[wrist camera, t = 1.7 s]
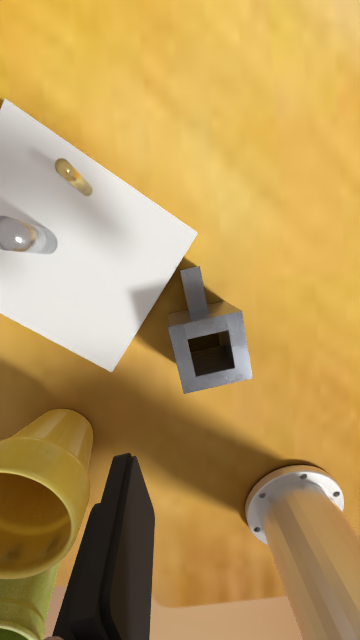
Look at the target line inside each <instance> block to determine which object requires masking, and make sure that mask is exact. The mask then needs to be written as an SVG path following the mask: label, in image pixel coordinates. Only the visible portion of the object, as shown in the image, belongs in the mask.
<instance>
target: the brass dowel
mask: <svg viewBox="0 0 360 640" xmlns="http://www.w3.org/2000/svg"><path fill="white" fill-rule="evenodd" d="M55 170H56V171H57V173H58V174H60V175H61V176H62V177H63V178H64V179H65V180H67V181H68V182H69V183H70V184H71V185H72V186H74V187H75V188H76V189H77V190H78V191H79V192H81V193H82V194H83V195H84V196H90V195H91V194H92V187H91V185H90V184H89V183H88V182H87V181H86V180H85V179H84V178H83V177H82V176H81V175H80V174H79V173H78V172H77V170H76V169H75V168H74V167H73V166H72V165H71V164H70V163H69V162H68V161H67V160H66V159H64V158H59V159H57V160H56V162H55Z"/></svg>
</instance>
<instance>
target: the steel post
mask: <svg viewBox="0 0 360 640" xmlns="http://www.w3.org/2000/svg"><path fill="white" fill-rule="evenodd" d="M57 245H58V241H57V238H56V236H55V234H54V233H53V232H52V231H50V230H48V229H45V228H42V227H39V226H36V225H33V224H30V223H26V222H23V221H20V220H17V219H14V218H11V217H7V216H0V249H2V250H6V251H15V252H25V253H35V254H44V255H48V254H52V253H53V252H54V251H55V250H56V249H57Z"/></svg>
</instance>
